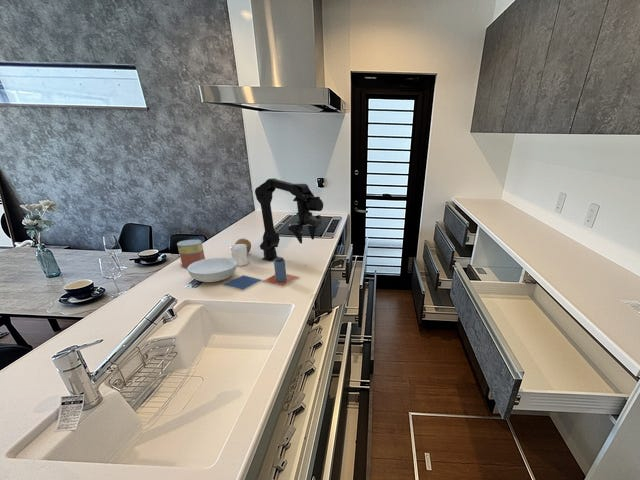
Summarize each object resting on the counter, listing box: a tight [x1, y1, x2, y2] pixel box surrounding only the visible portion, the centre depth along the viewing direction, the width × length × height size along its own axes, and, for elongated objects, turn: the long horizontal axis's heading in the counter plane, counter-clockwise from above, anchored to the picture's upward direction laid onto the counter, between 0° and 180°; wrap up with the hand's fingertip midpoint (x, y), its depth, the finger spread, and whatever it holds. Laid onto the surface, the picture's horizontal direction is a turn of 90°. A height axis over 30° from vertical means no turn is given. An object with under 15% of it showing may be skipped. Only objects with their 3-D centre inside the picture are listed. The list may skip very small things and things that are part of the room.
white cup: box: [229, 243, 248, 267], centre depth 162 cm, size 8×8×10 cm
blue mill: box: [273, 256, 287, 282], centre depth 142 cm, size 5×5×11 cm
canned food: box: [176, 238, 206, 269], centre depth 159 cm, size 11×11×12 cm
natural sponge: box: [234, 238, 252, 255], centre depth 174 cm, size 9×9×10 cm
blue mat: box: [222, 275, 262, 290], centre depth 141 cm, size 12×12×1 cm
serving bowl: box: [186, 257, 237, 283], centre depth 144 cm, size 21×21×7 cm
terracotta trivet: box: [263, 273, 299, 287], centre depth 146 cm, size 12×12×1 cm
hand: (307, 241), depth 155 cm, fingers open, 9 cm apart
